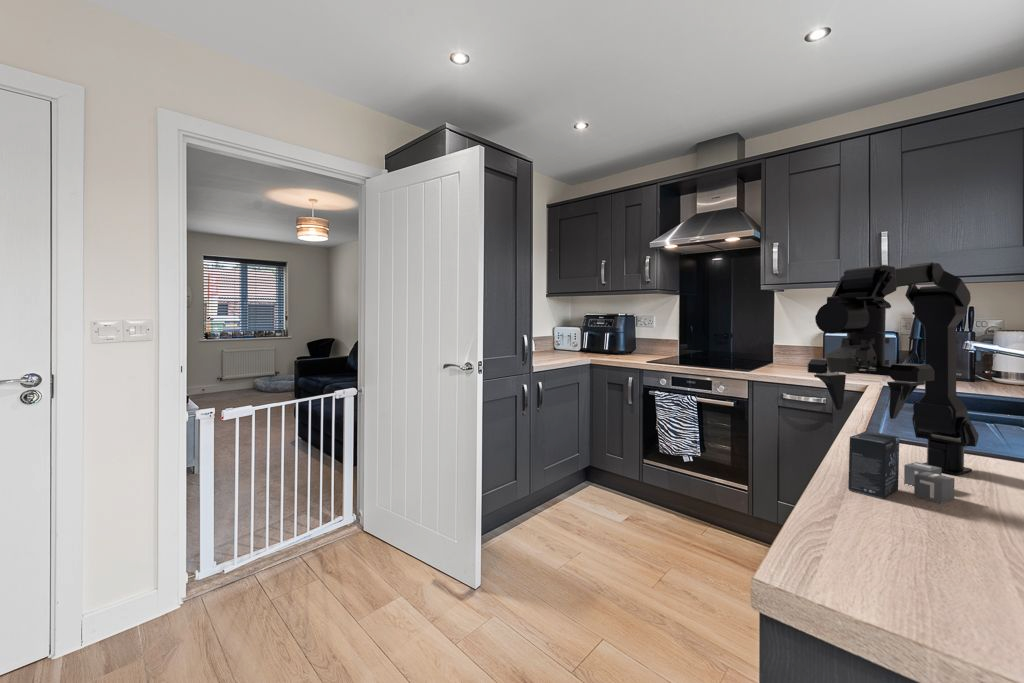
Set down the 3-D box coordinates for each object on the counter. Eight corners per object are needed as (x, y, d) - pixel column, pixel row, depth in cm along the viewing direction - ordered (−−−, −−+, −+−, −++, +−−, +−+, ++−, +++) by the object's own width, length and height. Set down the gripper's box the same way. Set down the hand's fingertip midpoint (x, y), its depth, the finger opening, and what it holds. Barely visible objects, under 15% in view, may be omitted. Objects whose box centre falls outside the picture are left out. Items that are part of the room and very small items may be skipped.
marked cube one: (915, 481, 89) (916, 461, 88) (941, 488, 85) (941, 466, 85) (903, 484, 87) (903, 464, 87) (928, 491, 83) (929, 470, 83)
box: (884, 500, 80) (885, 442, 79) (847, 490, 84) (848, 436, 84) (899, 490, 84) (900, 435, 84) (863, 482, 89) (864, 430, 88)
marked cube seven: (926, 492, 83) (926, 470, 83) (954, 500, 79) (954, 477, 79) (913, 496, 81) (913, 473, 81) (941, 503, 78) (941, 480, 78)
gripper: (789, 333, 89) (788, 409, 90) (898, 334, 72) (897, 428, 73) (825, 332, 93) (824, 405, 94) (937, 333, 76) (935, 422, 77)
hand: (864, 414), depth 84 cm, fingers open, 9 cm apart
